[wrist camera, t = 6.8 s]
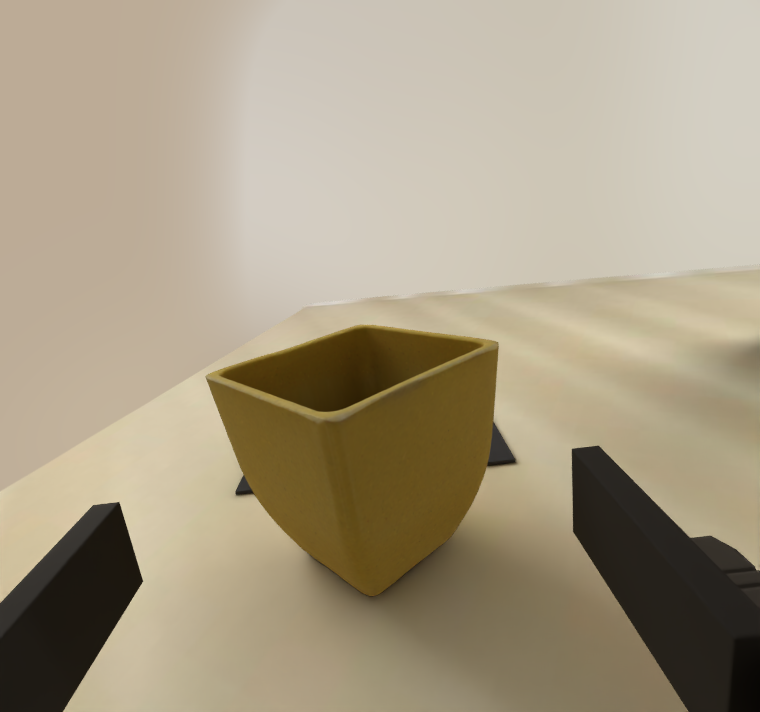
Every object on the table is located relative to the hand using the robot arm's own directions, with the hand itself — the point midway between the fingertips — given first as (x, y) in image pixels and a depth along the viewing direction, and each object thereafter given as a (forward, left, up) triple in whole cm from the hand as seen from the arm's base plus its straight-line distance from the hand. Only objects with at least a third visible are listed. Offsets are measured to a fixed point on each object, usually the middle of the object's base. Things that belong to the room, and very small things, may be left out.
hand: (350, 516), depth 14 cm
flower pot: (+5, -5, -6) cm, 9 cm away
